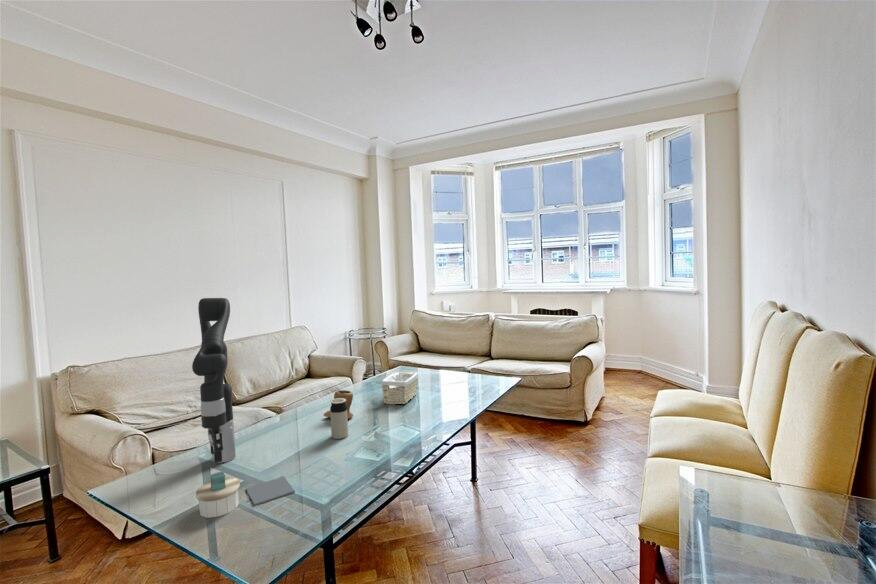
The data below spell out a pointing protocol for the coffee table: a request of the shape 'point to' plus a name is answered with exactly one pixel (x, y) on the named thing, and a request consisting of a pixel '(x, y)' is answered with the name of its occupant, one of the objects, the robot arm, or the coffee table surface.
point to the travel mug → (339, 418)
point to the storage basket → (399, 387)
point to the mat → (269, 490)
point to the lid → (217, 487)
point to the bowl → (219, 506)
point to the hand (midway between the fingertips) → (216, 457)
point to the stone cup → (348, 396)
